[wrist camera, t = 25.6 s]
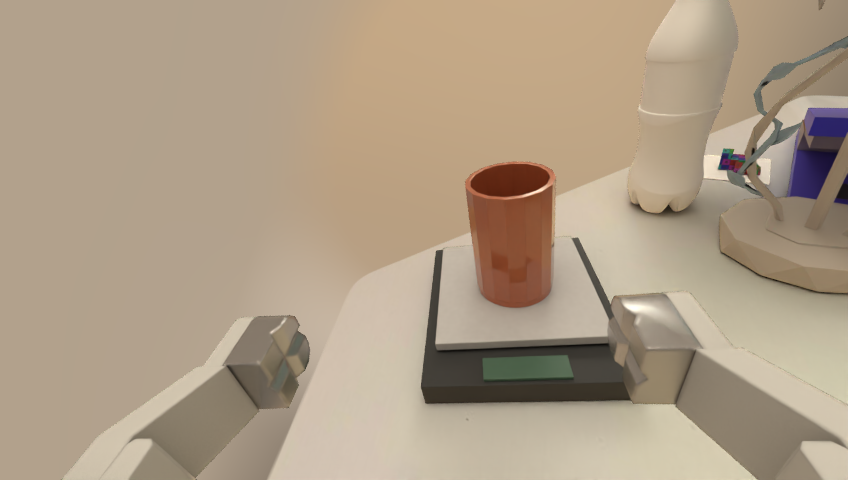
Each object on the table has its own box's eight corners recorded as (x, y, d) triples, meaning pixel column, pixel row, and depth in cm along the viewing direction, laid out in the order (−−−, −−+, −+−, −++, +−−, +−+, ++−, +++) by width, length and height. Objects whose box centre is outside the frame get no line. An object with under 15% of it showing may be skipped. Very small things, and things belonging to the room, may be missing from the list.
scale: (425, 403, 27) (418, 378, 25) (438, 264, 41) (434, 243, 39) (643, 399, 24) (650, 371, 22) (577, 252, 38) (578, 229, 36)
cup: (479, 310, 29) (465, 204, 24) (476, 263, 35) (464, 167, 29) (560, 305, 28) (564, 192, 23) (544, 257, 34) (545, 157, 28)
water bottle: (698, 221, 39) (780, -77, 26) (623, 216, 42) (662, -50, 29) (692, 191, 44) (757, -70, 31) (625, 188, 47) (659, -48, 34)
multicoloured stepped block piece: (716, 171, 47) (721, 154, 45) (719, 163, 48) (724, 146, 47) (759, 175, 44) (766, 157, 43) (760, 166, 46) (766, 148, 44)
